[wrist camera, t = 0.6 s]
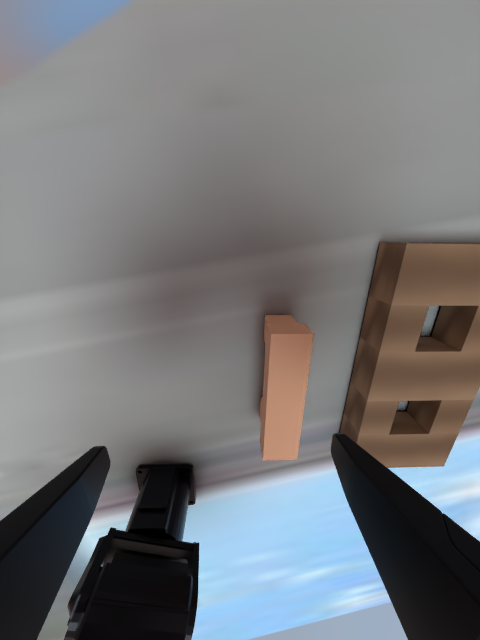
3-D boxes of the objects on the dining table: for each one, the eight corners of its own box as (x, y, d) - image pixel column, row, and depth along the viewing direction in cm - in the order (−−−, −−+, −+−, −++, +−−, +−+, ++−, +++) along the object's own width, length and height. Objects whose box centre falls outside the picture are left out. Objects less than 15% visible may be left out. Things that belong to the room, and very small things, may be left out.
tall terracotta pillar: (284, 417, 24) (297, 459, 20) (256, 417, 24) (262, 460, 20) (294, 311, 20) (314, 333, 16) (261, 311, 20) (271, 334, 16)
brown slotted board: (421, 441, 26) (443, 466, 24) (337, 443, 26) (350, 468, 23) (496, 244, 19) (542, 245, 16) (380, 242, 18) (406, 243, 16)
